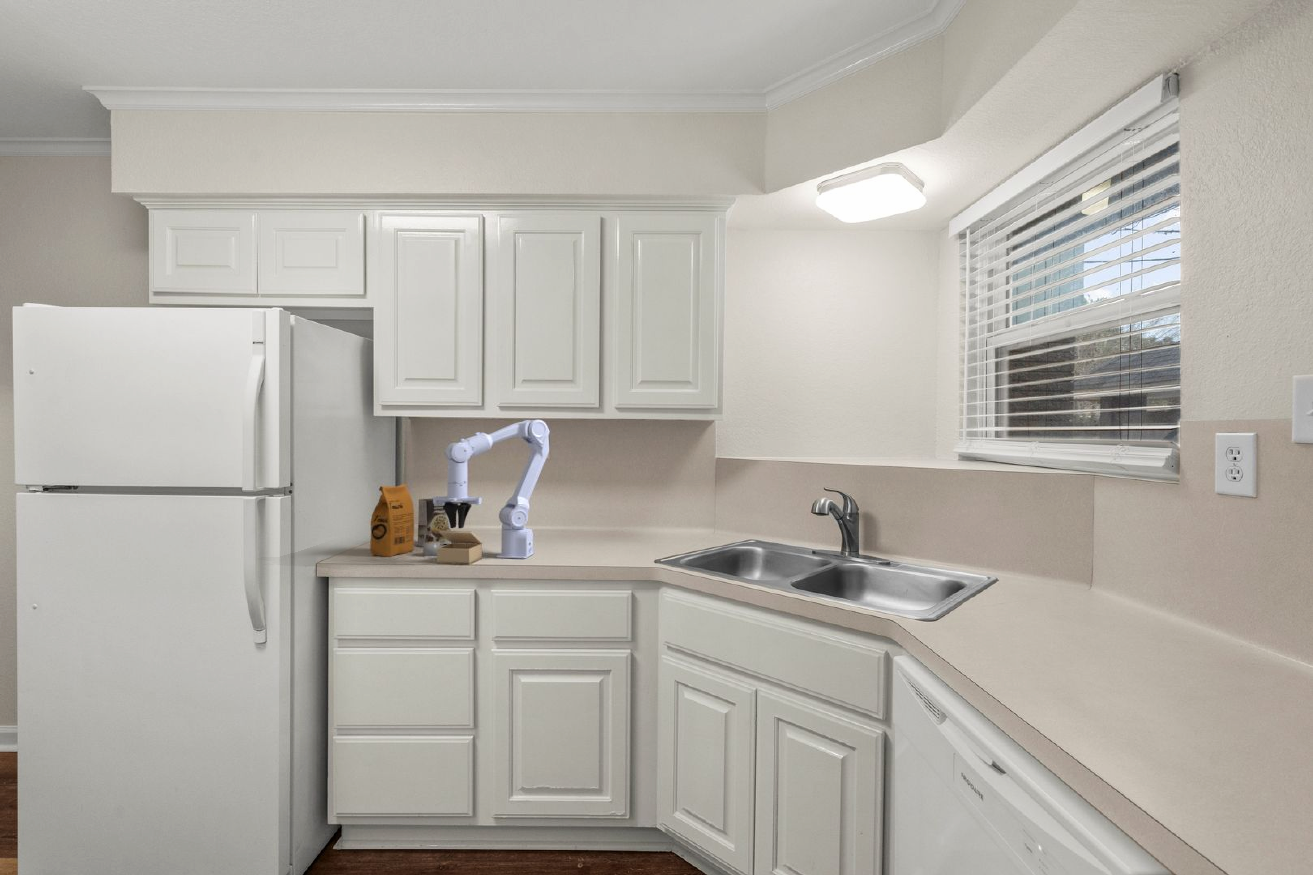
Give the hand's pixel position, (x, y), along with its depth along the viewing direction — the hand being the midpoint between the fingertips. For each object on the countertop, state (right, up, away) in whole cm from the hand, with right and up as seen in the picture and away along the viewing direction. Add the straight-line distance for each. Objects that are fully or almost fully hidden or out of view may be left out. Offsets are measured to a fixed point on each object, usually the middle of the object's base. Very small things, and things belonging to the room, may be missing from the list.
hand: (457, 527), depth 181 cm
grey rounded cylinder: (-12, -10, +11) cm, 19 cm away
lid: (0, -4, +3) cm, 4 cm away
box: (0, -10, +2) cm, 11 cm away
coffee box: (-17, -10, +29) cm, 35 cm away
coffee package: (-25, -10, +13) cm, 31 cm away
